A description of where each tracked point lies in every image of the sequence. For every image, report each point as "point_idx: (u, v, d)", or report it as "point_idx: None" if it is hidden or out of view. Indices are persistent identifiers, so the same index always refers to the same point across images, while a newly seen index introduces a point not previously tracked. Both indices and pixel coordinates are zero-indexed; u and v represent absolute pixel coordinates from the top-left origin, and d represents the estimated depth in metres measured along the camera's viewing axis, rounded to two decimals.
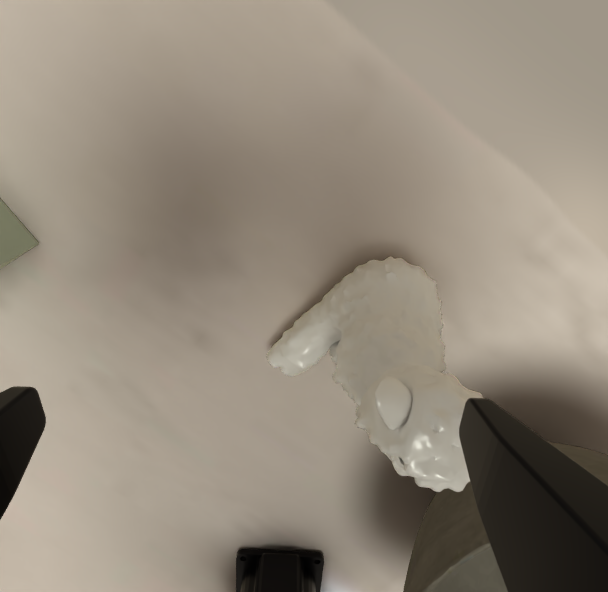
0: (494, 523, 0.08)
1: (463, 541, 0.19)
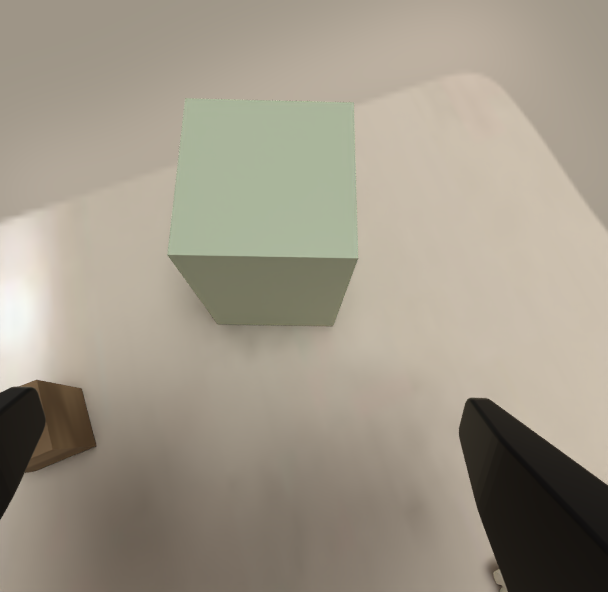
0: (494, 523, 0.08)
1: None
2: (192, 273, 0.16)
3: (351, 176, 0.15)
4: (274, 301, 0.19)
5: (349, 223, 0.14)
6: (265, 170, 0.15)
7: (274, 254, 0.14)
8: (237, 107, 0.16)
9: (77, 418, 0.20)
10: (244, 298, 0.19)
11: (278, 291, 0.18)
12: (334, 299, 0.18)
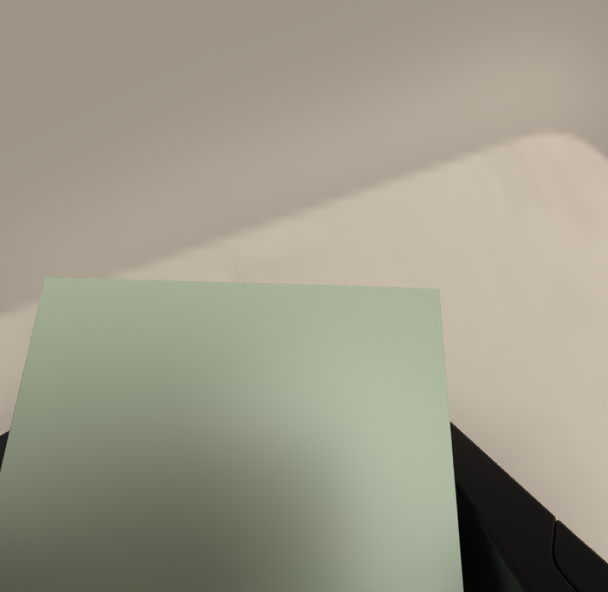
0: None
1: None
2: None
3: (445, 506, 0.06)
4: None
5: None
6: (225, 488, 0.06)
7: None
8: (165, 302, 0.07)
9: None
10: None
11: None
12: None
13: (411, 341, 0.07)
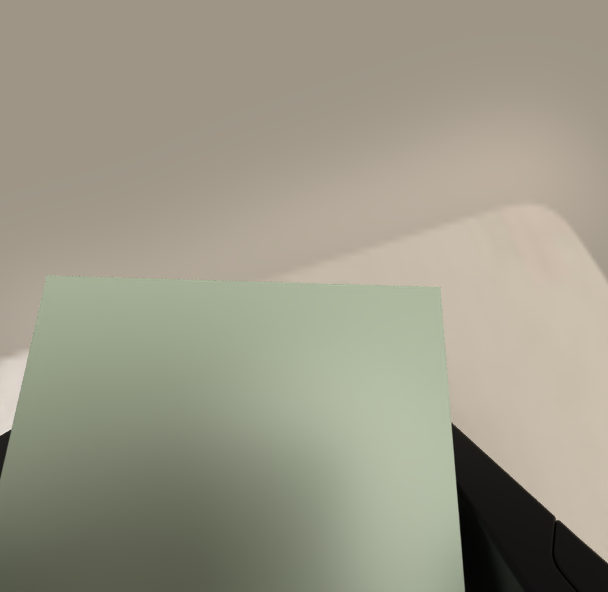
0: None
1: None
2: None
3: (446, 503, 0.06)
4: None
5: None
6: (226, 486, 0.06)
7: None
8: (167, 300, 0.07)
9: None
10: None
11: None
12: None
13: (412, 339, 0.07)
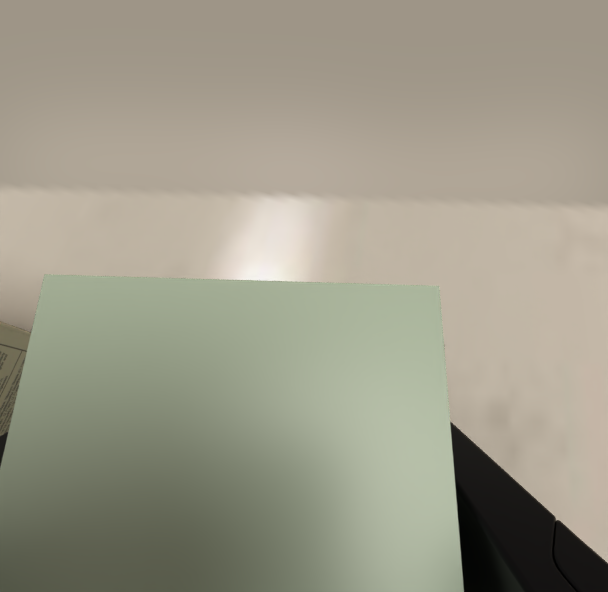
0: None
1: None
2: None
3: (445, 502, 0.06)
4: None
5: None
6: (225, 485, 0.06)
7: None
8: (165, 299, 0.07)
9: None
10: None
11: None
12: None
13: (411, 338, 0.07)
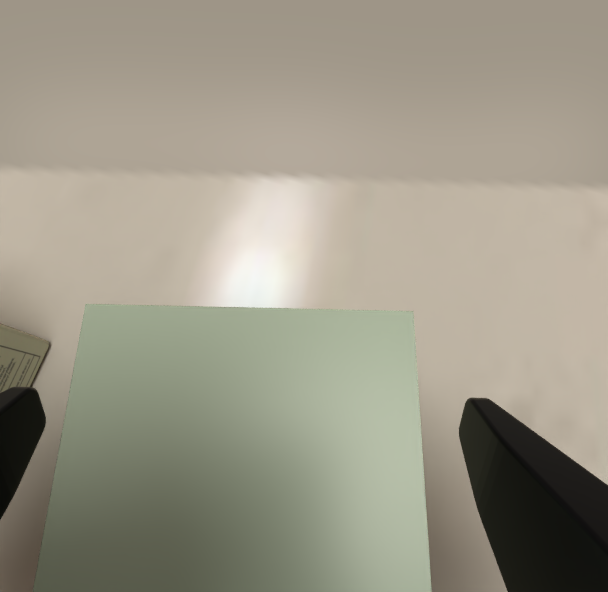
0: (494, 523, 0.08)
1: None
2: None
3: (416, 489, 0.07)
4: None
5: None
6: (238, 477, 0.07)
7: None
8: (186, 324, 0.08)
9: None
10: None
11: None
12: None
13: (390, 355, 0.08)
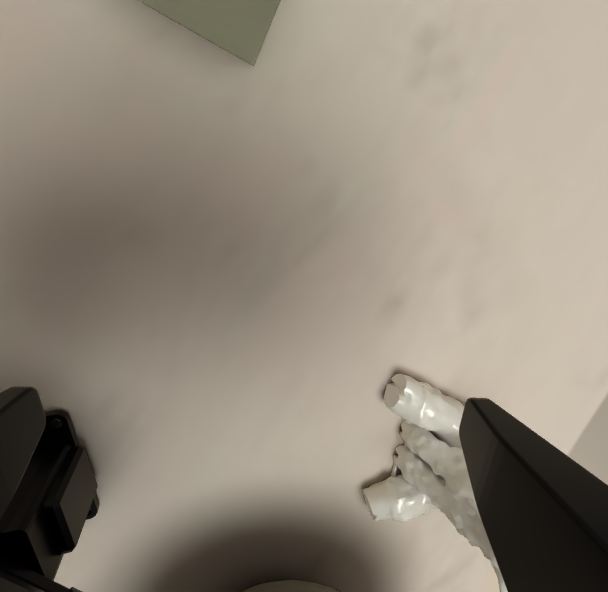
0: (494, 523, 0.08)
1: None
2: None
3: None
4: None
5: None
6: None
7: None
8: None
9: None
10: None
11: None
12: (257, 27, 0.14)
13: None
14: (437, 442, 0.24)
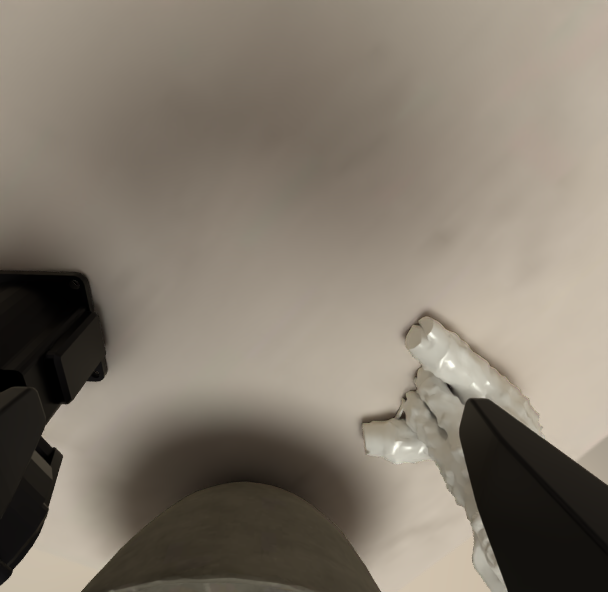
0: (494, 523, 0.08)
1: (354, 591, 0.19)
2: None
3: None
4: None
5: None
6: None
7: None
8: None
9: None
10: None
11: None
12: None
13: None
14: (450, 396, 0.22)
